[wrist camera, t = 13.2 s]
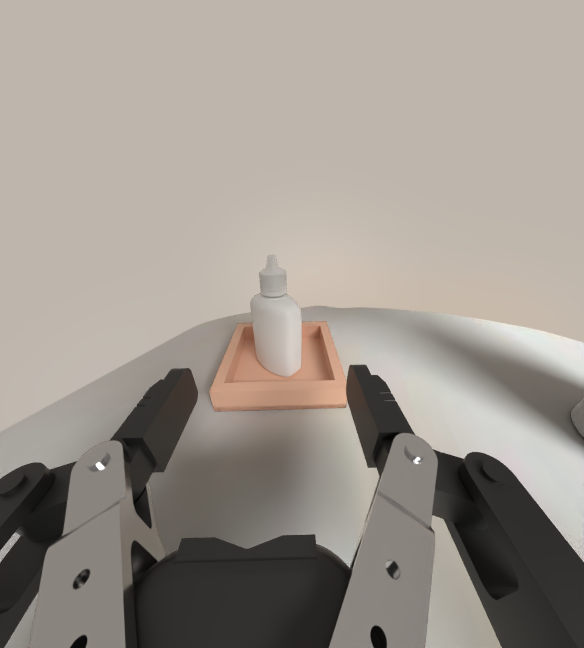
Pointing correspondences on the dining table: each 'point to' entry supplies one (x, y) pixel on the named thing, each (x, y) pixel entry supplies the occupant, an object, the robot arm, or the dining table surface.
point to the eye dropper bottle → (276, 323)
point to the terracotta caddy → (277, 391)
